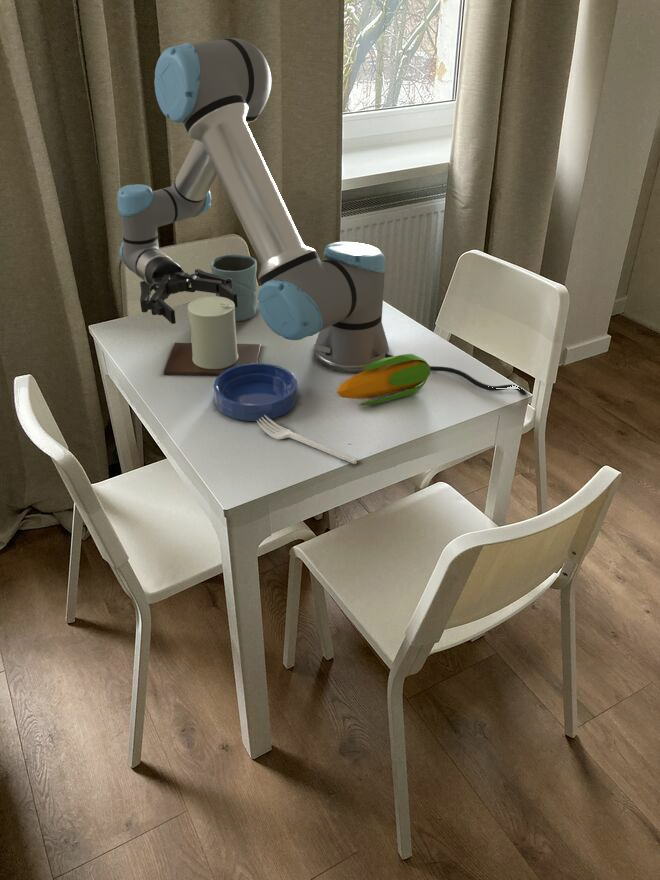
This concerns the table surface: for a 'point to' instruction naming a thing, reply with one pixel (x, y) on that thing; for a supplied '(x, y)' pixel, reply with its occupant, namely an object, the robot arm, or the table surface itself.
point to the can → (213, 332)
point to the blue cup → (239, 281)
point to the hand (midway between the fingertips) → (205, 309)
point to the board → (184, 365)
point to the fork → (298, 438)
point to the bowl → (255, 391)
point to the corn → (387, 379)
